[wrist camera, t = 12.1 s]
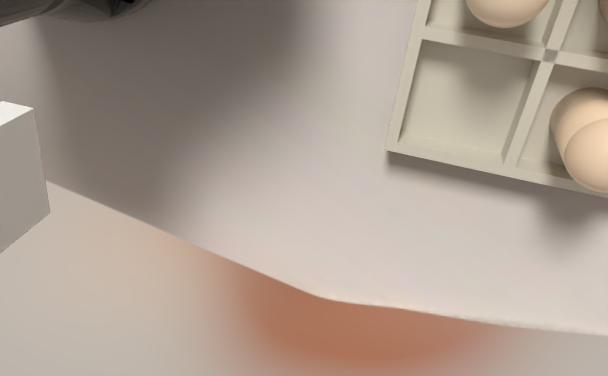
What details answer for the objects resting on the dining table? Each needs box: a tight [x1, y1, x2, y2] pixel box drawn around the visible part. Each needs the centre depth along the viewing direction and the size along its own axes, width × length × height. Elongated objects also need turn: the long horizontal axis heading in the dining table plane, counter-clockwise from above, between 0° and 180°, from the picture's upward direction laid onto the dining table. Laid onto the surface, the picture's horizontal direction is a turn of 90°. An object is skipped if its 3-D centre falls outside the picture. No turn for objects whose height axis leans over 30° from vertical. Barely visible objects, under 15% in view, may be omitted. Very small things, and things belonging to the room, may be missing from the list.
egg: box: [550, 87, 608, 193], centre depth 33 cm, size 5×5×8 cm
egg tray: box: [384, 0, 608, 199], centre depth 34 cm, size 17×17×2 cm
